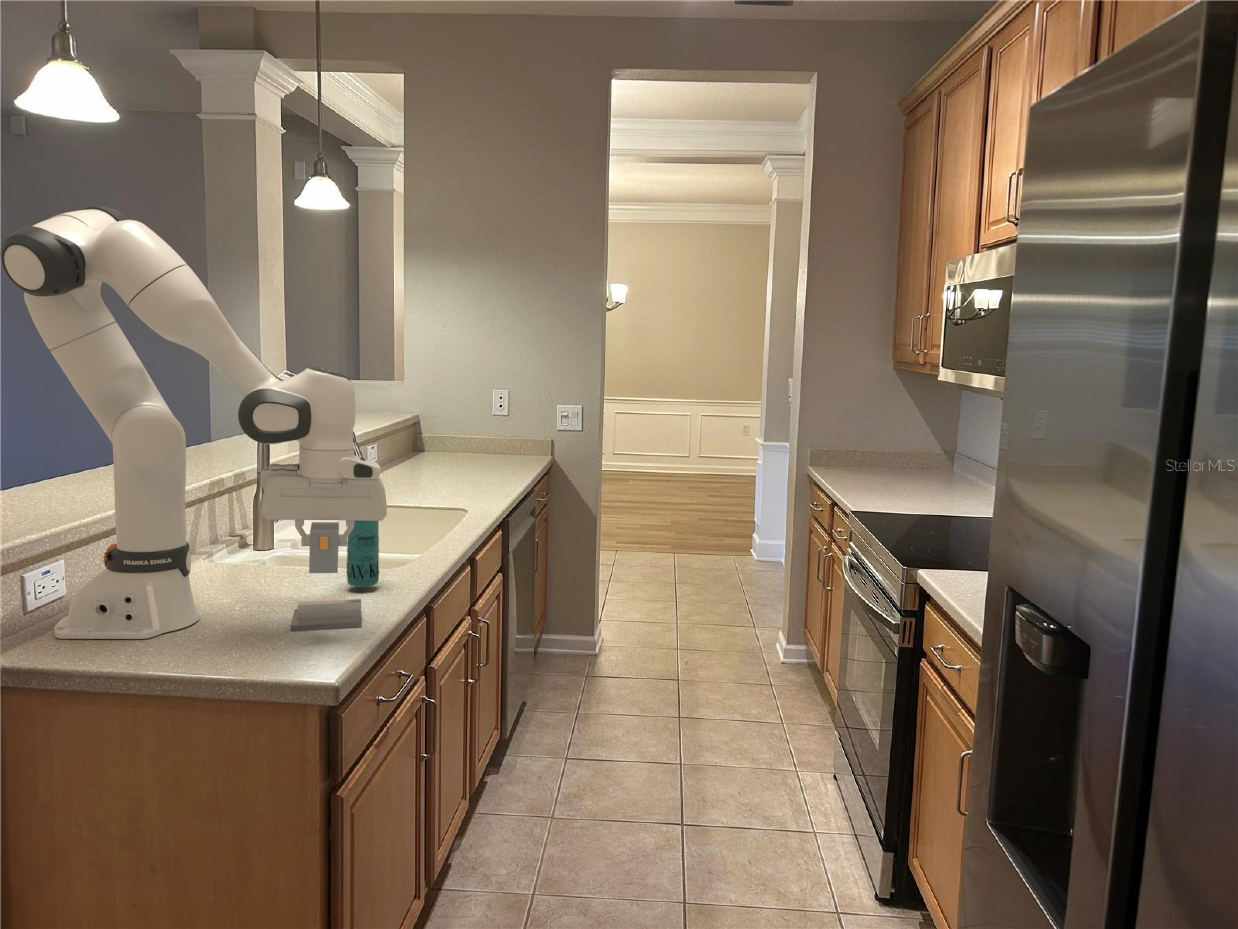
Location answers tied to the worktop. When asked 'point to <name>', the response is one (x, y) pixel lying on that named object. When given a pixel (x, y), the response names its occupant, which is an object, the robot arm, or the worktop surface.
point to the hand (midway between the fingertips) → (324, 545)
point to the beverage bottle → (363, 554)
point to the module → (324, 547)
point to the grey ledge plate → (327, 615)
